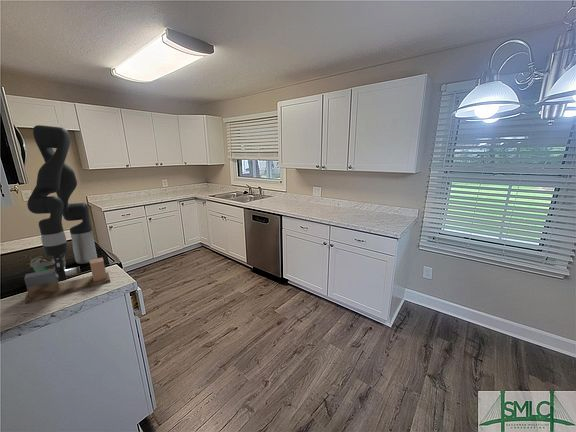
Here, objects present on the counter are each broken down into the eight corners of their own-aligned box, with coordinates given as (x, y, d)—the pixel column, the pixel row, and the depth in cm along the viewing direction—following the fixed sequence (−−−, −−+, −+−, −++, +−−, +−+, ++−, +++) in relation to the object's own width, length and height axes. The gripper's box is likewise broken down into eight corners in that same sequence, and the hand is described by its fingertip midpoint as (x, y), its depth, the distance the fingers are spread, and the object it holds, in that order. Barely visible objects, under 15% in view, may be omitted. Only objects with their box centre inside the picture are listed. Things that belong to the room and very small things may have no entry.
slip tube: (26, 286, 100) (25, 279, 99) (27, 283, 102) (26, 276, 101) (80, 273, 111) (79, 267, 110) (80, 271, 113) (79, 265, 112)
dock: (25, 303, 98) (22, 291, 97) (29, 293, 106) (25, 281, 104) (110, 281, 116) (108, 270, 114) (108, 274, 123) (106, 263, 122)
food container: (29, 279, 118) (24, 259, 115) (46, 273, 123) (41, 255, 121) (40, 285, 112) (35, 265, 110) (57, 279, 118) (53, 260, 115)
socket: (93, 281, 113) (90, 263, 111) (93, 277, 117) (89, 260, 115) (106, 278, 117) (103, 261, 114) (105, 274, 121) (102, 257, 118)
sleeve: (26, 287, 99) (24, 278, 98) (28, 283, 103) (25, 274, 102) (56, 280, 105) (54, 271, 104) (57, 276, 109) (55, 268, 108)
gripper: (66, 245, 101) (74, 282, 105) (67, 236, 112) (74, 271, 116) (40, 249, 97) (50, 288, 101) (44, 240, 107) (53, 275, 111)
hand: (63, 278), depth 108 cm, fingers closed on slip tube, 3 cm apart
